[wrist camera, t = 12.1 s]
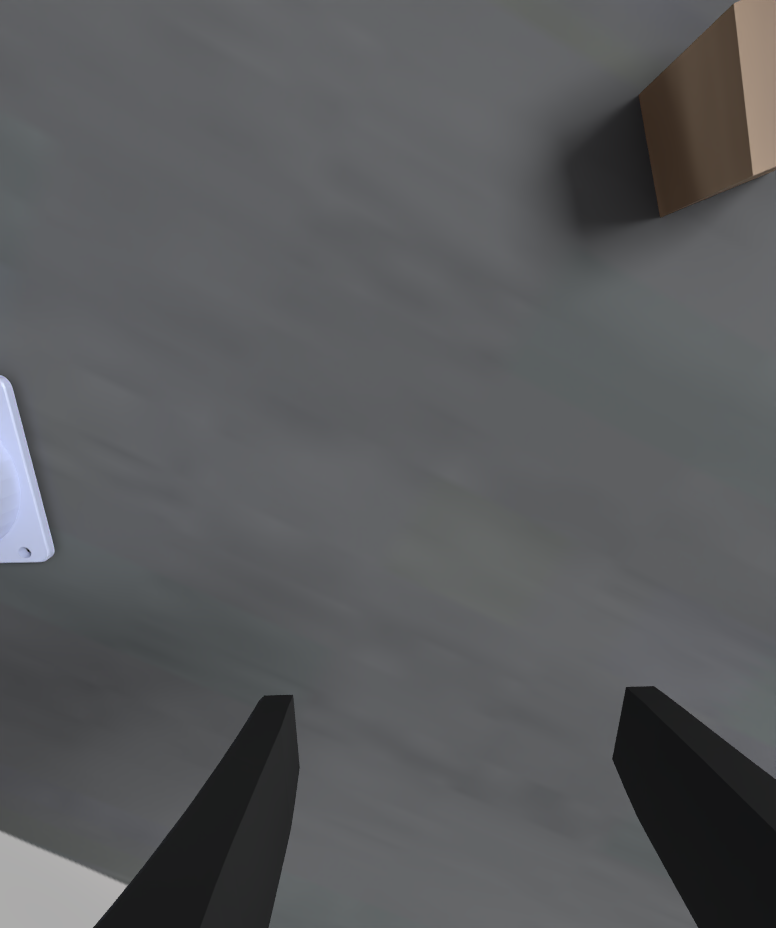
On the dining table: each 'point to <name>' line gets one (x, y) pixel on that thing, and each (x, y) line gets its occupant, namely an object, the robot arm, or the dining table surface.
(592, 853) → the dining table surface
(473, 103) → the dining table surface
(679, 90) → the walnut block
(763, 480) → the dining table surface
